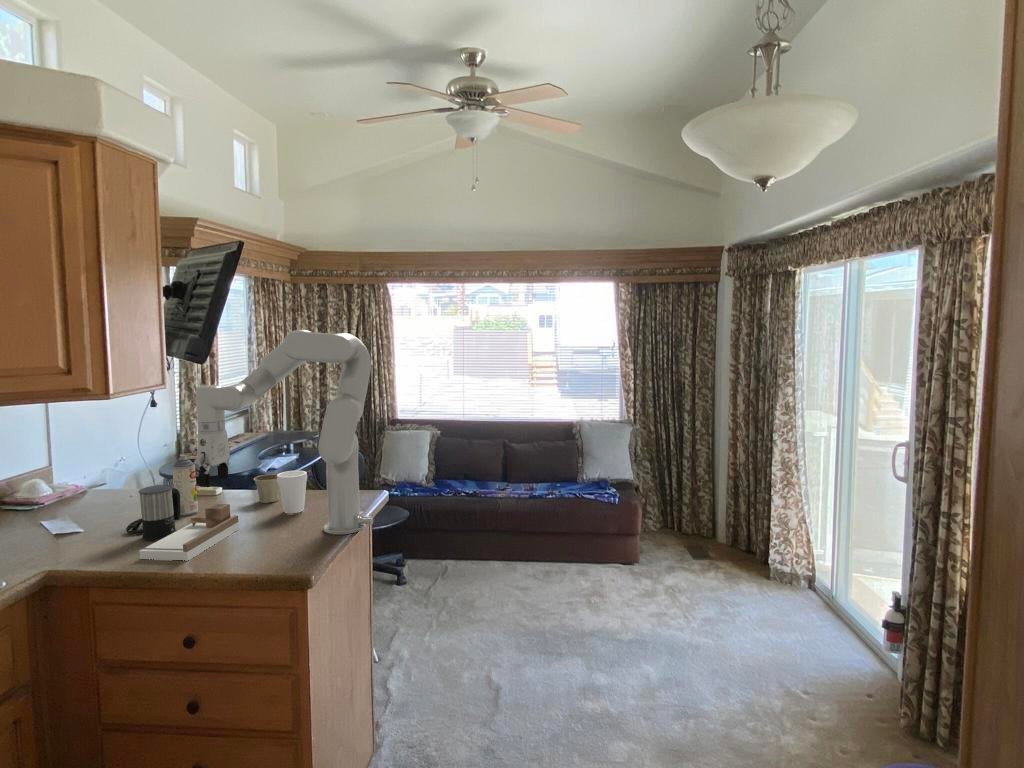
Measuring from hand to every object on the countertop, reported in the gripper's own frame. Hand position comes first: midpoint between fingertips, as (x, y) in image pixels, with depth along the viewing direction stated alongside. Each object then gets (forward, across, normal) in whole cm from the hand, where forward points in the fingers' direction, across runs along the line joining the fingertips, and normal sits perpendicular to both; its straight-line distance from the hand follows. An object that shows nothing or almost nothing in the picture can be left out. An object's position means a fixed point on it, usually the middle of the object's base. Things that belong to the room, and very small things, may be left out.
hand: (214, 482), depth 198 cm
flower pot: (+16, +35, +1) cm, 39 cm away
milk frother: (+16, -2, +20) cm, 26 cm away
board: (+16, -9, +2) cm, 18 cm away
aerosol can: (+16, +19, +22) cm, 34 cm away
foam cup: (+16, +23, -14) cm, 31 cm away
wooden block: (+13, 0, +2) cm, 14 cm away
